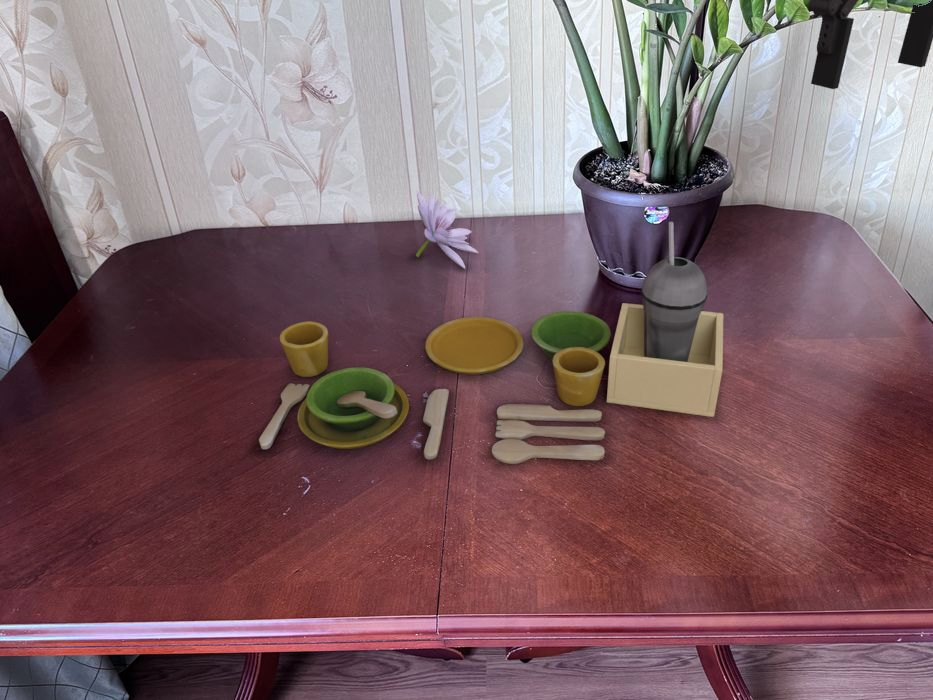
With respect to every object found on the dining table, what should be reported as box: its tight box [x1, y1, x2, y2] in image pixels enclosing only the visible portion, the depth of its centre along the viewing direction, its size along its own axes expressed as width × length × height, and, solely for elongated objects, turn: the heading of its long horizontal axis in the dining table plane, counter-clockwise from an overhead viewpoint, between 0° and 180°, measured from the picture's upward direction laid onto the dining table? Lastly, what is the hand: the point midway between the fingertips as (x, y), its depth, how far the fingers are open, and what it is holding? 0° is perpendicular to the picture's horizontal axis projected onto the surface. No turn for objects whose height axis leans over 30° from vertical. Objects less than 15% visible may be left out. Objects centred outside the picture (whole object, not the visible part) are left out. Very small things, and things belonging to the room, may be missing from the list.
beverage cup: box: [640, 221, 708, 362], centre depth 83 cm, size 7×7×20 cm
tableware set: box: [258, 310, 612, 465], centre depth 89 cm, size 41×28×6 cm
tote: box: [606, 302, 724, 418], centre depth 87 cm, size 12×12×7 cm
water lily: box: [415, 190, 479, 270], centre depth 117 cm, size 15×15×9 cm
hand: (869, 75), depth 77 cm, fingers open, 13 cm apart
